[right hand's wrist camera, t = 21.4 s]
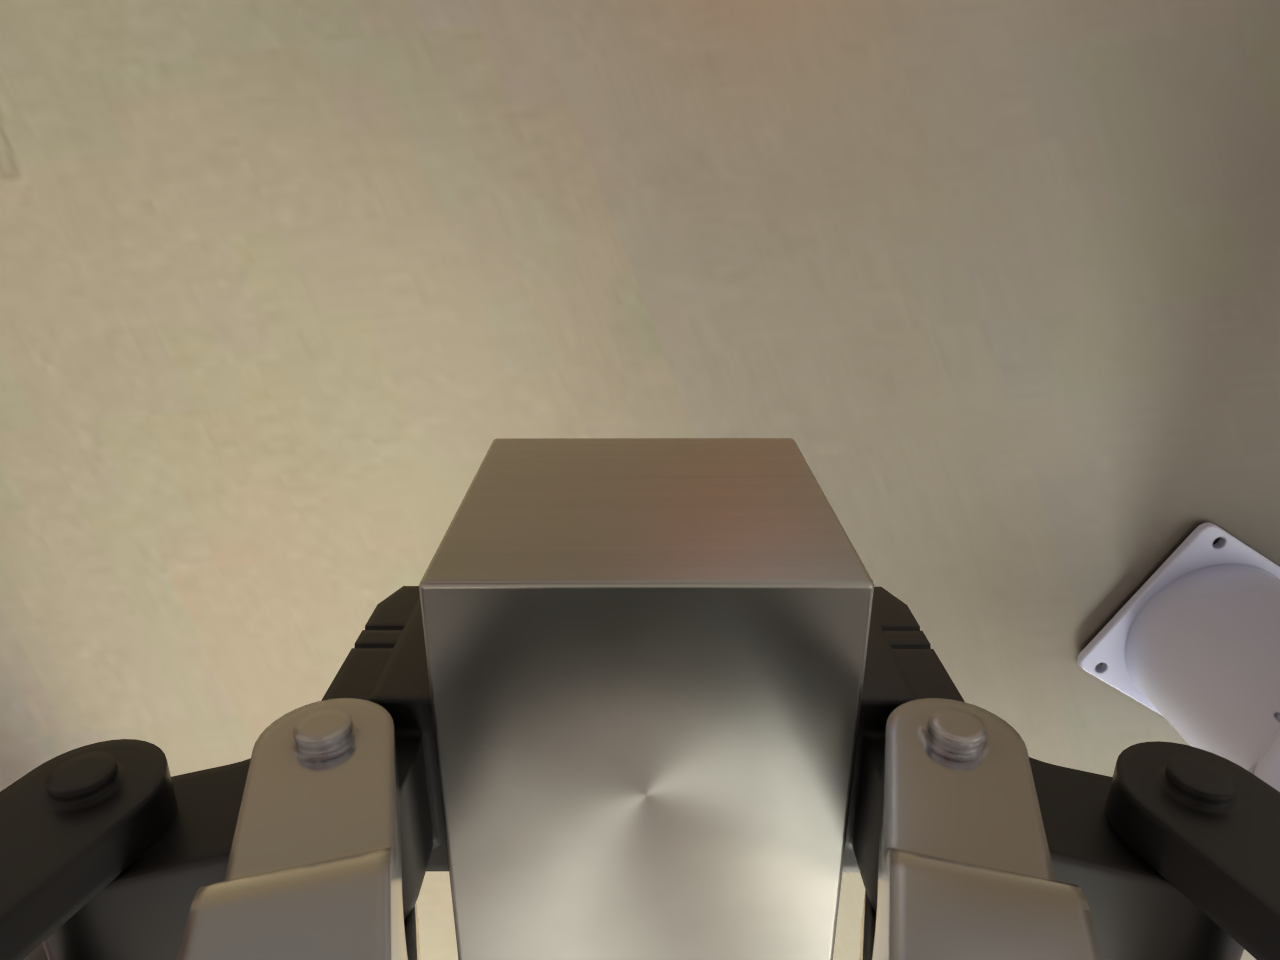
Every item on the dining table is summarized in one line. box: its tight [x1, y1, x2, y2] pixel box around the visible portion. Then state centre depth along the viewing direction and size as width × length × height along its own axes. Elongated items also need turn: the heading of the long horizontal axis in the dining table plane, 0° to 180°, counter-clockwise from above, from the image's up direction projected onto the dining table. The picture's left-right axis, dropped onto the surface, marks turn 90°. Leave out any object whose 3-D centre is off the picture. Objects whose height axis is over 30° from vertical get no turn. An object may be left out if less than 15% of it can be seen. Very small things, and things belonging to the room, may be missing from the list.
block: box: [419, 438, 874, 960], centre depth 10 cm, size 4×5×4 cm
